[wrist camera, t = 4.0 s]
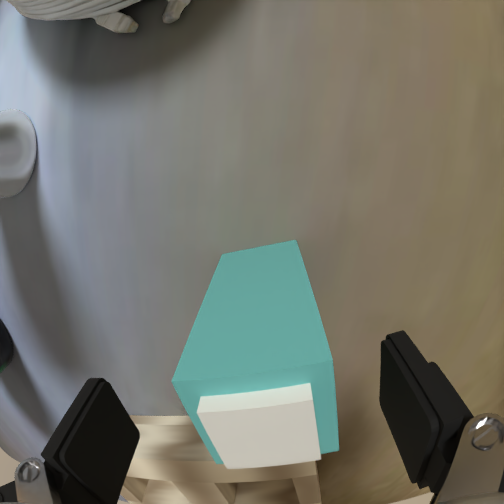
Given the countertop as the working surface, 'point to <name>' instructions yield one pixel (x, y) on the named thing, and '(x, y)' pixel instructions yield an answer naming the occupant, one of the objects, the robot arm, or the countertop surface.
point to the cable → (92, 11)
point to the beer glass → (16, 151)
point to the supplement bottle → (5, 348)
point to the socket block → (206, 471)
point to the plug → (260, 363)
